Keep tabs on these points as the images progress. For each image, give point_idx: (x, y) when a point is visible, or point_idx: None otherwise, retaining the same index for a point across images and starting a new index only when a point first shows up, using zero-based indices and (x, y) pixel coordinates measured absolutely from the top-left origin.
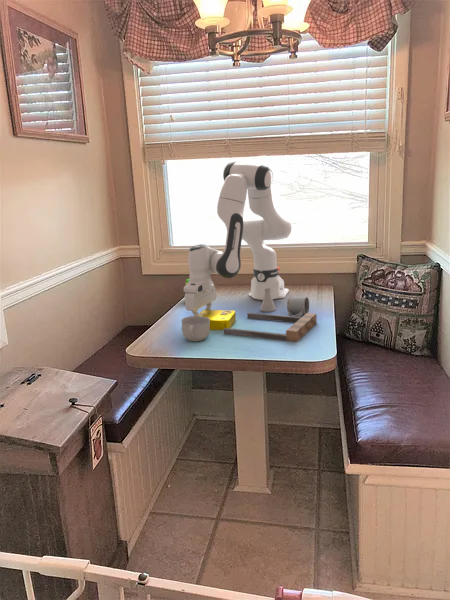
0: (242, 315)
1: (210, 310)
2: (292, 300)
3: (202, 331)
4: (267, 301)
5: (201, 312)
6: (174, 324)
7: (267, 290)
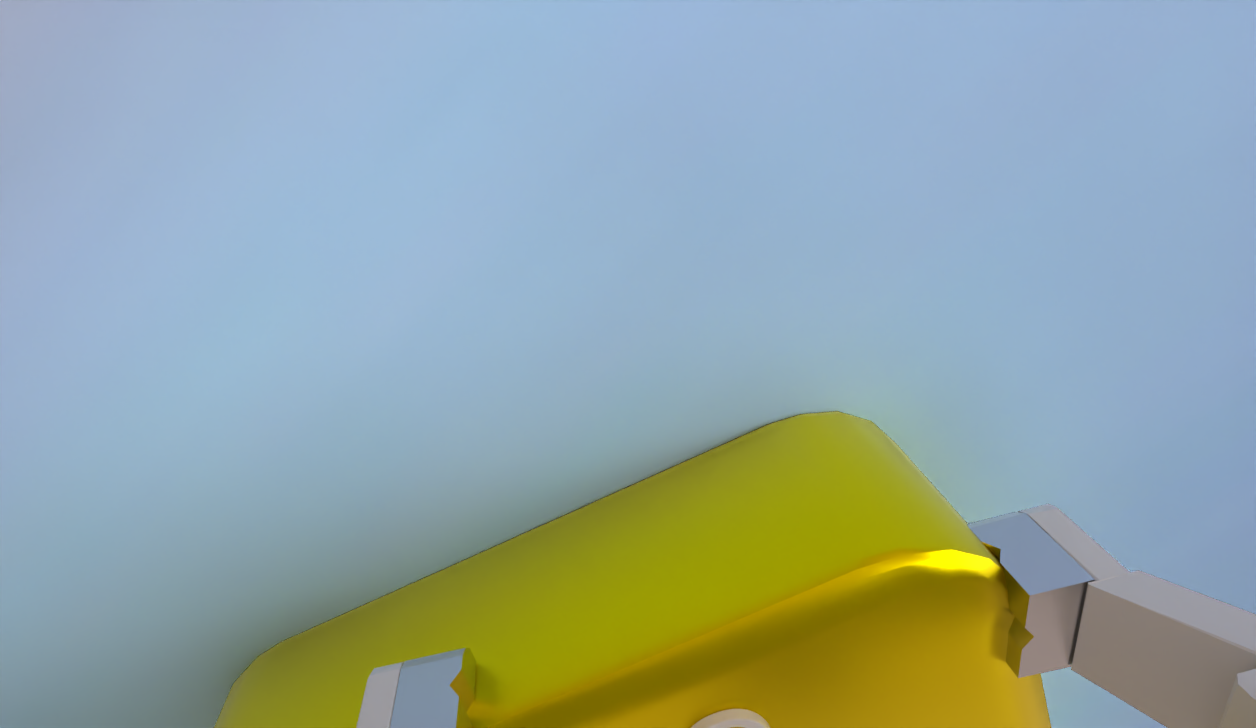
0: None
1: (975, 711)
2: None
3: None
4: None
5: (726, 682)
6: (28, 55)
7: None
